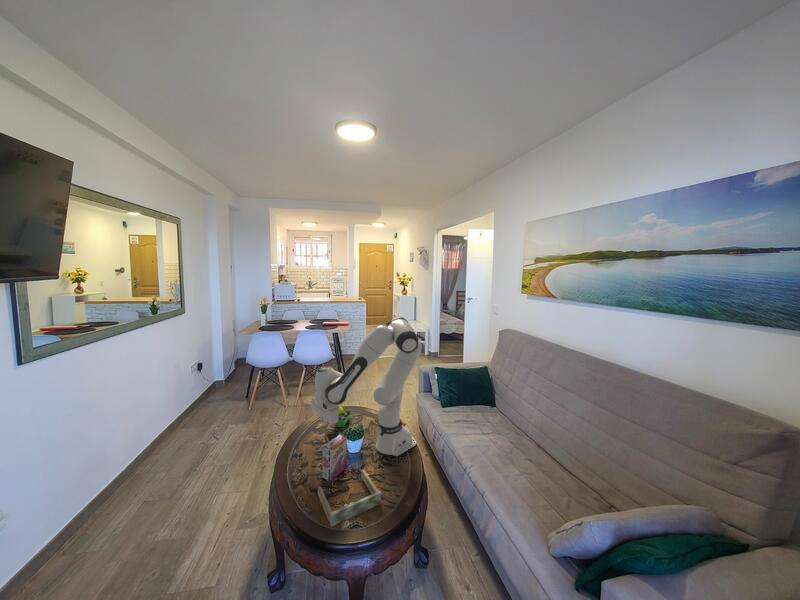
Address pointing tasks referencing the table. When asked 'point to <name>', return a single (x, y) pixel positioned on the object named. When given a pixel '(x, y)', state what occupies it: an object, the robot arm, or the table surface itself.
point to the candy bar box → (334, 457)
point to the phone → (331, 436)
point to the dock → (354, 507)
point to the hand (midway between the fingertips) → (324, 424)
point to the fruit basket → (342, 417)
